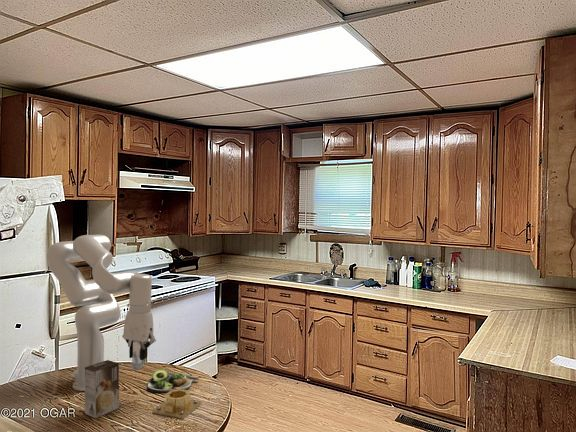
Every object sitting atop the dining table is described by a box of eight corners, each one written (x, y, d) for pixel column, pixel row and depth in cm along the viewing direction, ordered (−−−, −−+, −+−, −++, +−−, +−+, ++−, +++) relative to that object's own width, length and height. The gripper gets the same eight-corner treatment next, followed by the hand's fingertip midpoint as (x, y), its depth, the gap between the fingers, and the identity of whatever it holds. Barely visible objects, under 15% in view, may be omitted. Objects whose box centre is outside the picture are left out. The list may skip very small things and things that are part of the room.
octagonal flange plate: (152, 413, 149) (152, 398, 149) (172, 398, 160) (172, 385, 160) (182, 419, 145) (183, 404, 145) (201, 404, 156) (201, 390, 156)
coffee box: (107, 403, 155) (108, 359, 155) (119, 408, 152) (119, 362, 152) (83, 413, 147) (84, 366, 147) (95, 419, 144) (96, 370, 144)
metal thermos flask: (129, 368, 158) (130, 336, 158) (136, 365, 162) (137, 333, 161) (138, 370, 157) (140, 337, 156) (146, 366, 161) (147, 334, 160)
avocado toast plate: (200, 375, 184) (200, 364, 184) (196, 393, 166) (197, 381, 166) (153, 376, 182) (153, 365, 182) (144, 394, 164) (144, 382, 164)
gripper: (114, 307, 158) (112, 357, 158) (152, 313, 152) (151, 365, 153) (127, 303, 165) (126, 351, 165) (165, 308, 159) (163, 358, 160)
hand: (138, 357), depth 159 cm, fingers closed on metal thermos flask, 4 cm apart
